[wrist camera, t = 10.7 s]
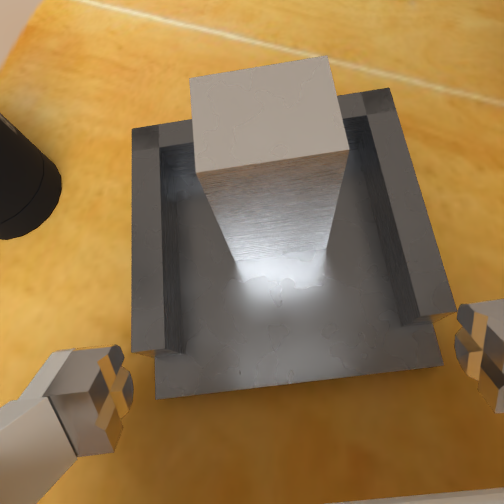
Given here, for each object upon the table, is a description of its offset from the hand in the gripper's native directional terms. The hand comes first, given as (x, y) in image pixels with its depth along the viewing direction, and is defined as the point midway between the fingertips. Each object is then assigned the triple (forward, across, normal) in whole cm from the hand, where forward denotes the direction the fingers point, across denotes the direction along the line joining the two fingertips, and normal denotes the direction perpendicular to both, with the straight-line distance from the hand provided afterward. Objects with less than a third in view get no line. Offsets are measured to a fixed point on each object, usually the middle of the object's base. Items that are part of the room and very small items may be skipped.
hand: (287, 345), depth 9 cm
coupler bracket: (+12, 0, +3) cm, 13 cm away
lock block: (+13, 0, +2) cm, 13 cm away
